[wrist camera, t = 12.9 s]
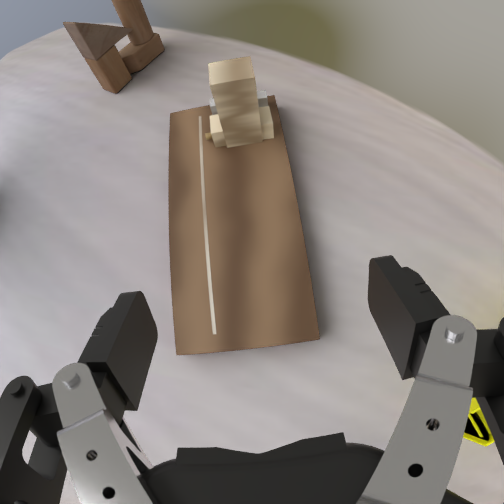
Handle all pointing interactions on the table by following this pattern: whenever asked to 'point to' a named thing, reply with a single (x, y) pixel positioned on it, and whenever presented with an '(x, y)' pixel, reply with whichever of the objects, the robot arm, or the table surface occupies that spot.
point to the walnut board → (235, 241)
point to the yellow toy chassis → (477, 426)
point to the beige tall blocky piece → (237, 105)
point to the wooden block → (105, 52)
